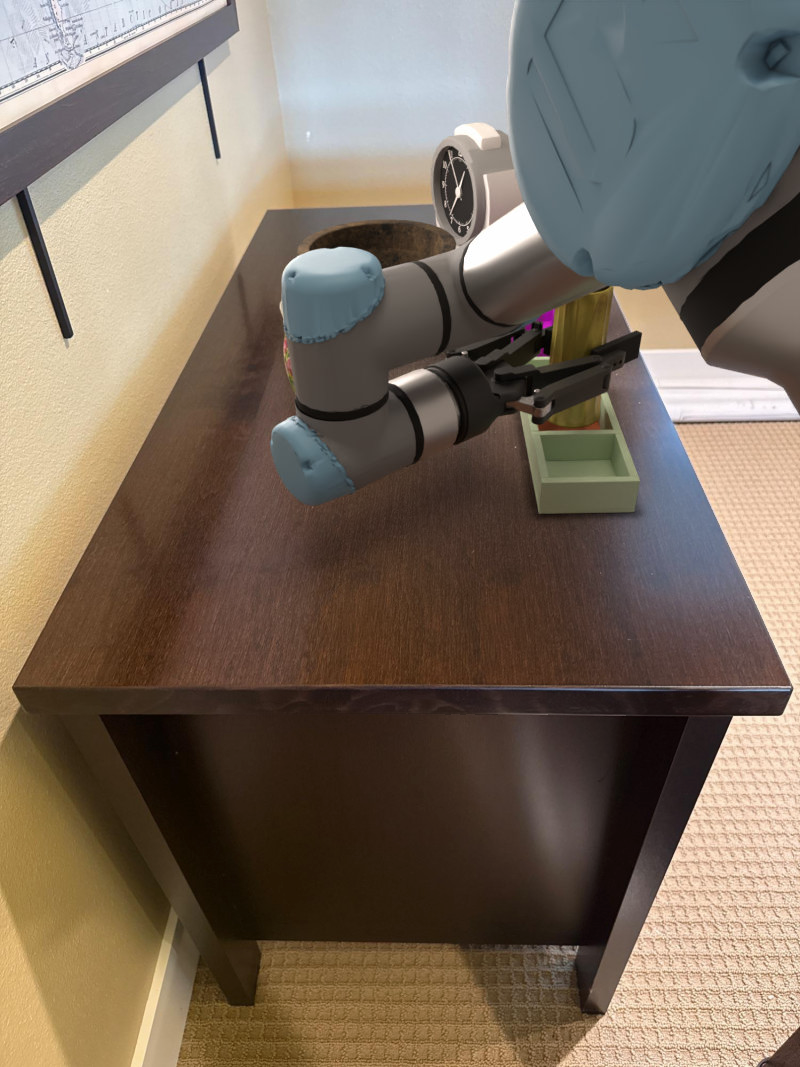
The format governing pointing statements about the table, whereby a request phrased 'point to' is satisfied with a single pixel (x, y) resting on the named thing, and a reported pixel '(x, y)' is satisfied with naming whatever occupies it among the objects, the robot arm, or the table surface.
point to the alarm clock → (473, 181)
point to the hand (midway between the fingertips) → (613, 334)
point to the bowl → (384, 240)
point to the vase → (580, 346)
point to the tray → (581, 464)
